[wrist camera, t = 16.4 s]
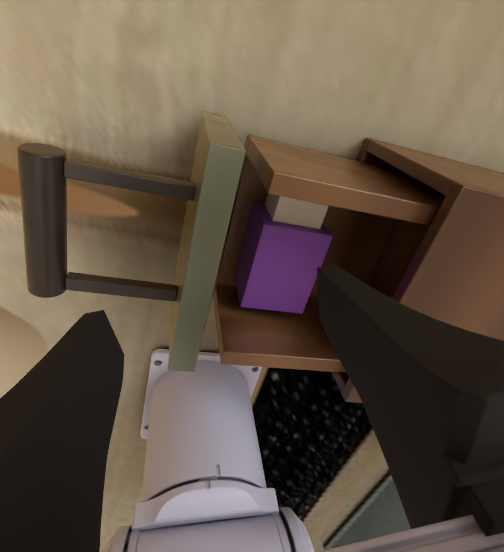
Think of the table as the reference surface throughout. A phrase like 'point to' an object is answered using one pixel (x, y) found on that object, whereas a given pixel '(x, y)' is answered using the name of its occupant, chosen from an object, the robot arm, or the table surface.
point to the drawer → (235, 238)
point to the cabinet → (450, 245)
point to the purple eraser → (281, 254)
